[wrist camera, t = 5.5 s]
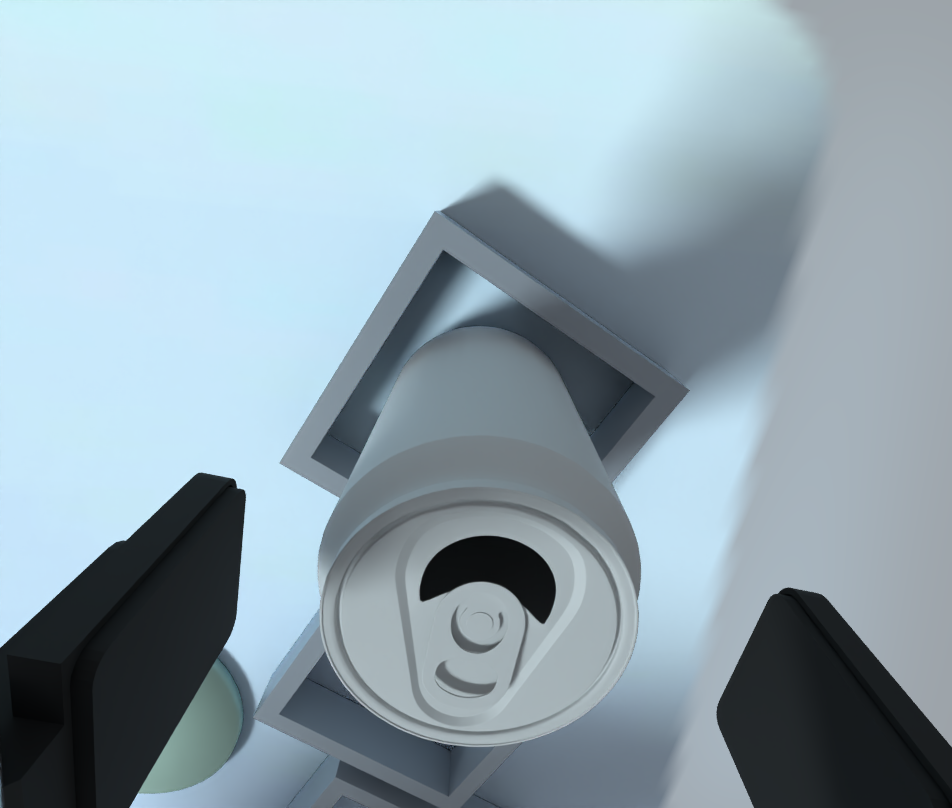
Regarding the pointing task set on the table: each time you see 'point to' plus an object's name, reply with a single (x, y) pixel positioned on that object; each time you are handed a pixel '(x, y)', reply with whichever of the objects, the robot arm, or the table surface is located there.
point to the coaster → (200, 736)
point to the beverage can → (479, 552)
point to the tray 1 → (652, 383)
